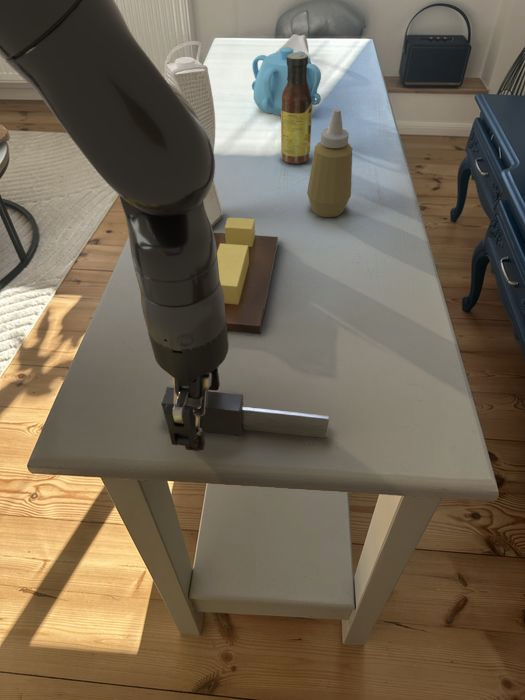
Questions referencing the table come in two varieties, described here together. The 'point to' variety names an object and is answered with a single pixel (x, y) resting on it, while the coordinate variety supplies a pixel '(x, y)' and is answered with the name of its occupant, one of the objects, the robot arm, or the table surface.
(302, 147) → the sauce bottle
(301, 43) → the spoon rest
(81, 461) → the table surface
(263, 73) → the decorative pot
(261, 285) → the board
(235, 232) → the butter slice
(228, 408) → the knife
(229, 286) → the butter
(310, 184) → the squeeze bottle
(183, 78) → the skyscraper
